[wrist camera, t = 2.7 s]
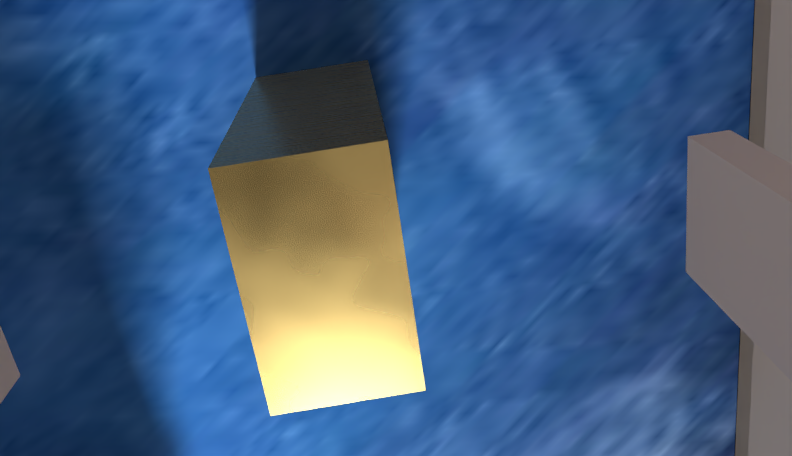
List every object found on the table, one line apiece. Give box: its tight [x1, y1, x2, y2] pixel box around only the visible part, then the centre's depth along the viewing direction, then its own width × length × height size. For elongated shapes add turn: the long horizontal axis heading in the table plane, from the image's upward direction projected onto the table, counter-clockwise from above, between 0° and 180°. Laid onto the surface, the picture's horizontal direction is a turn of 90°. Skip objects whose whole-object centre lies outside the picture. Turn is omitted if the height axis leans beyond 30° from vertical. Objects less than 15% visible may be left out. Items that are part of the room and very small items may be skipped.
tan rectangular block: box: [208, 60, 426, 416], centre depth 17 cm, size 3×5×8 cm, turn 8°
